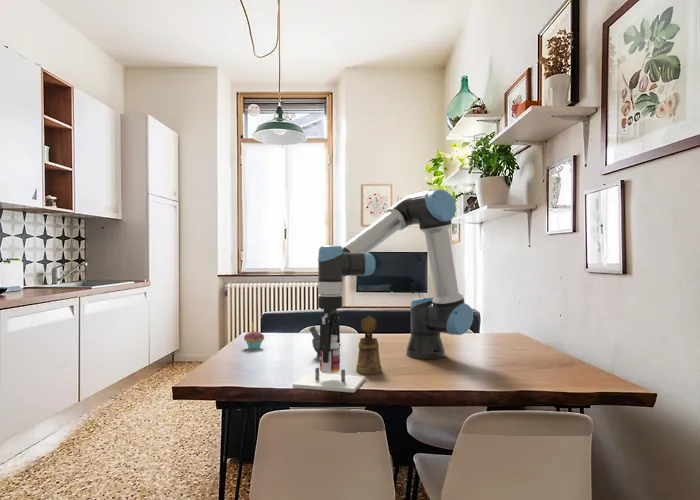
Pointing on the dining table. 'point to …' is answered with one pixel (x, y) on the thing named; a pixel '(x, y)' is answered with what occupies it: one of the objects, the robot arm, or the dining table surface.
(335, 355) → the pill bottle
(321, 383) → the pin tray
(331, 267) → the robot arm
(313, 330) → the mortar and pestle
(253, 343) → the cupcake
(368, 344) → the brown ball-topped piece
